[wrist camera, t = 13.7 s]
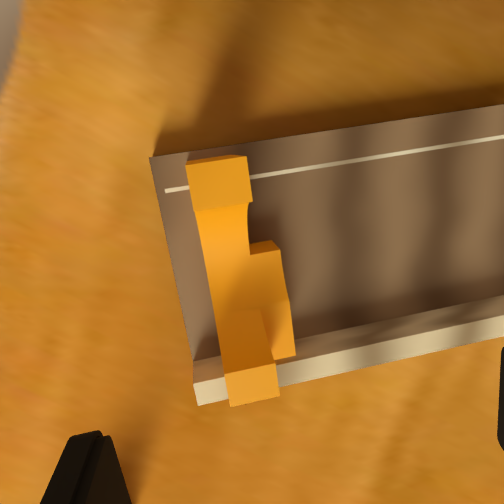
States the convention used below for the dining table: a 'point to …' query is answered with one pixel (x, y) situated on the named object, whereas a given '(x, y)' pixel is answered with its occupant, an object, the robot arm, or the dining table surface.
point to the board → (359, 241)
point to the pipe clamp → (241, 280)
